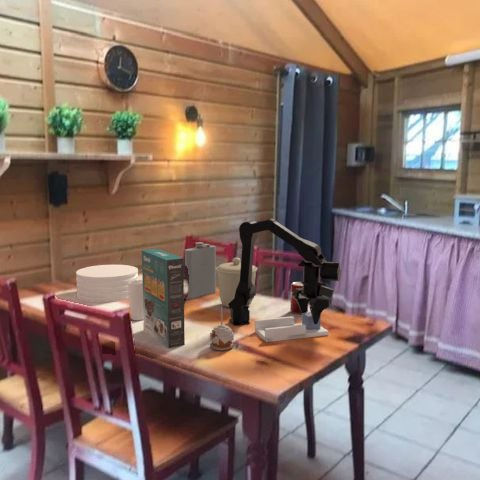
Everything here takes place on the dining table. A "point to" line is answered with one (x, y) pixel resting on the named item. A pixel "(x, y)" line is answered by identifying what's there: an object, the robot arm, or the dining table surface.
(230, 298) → the canister
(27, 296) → the dining table surface
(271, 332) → the trap channel
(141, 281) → the white cylinder
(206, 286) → the flask
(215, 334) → the decorative ornament
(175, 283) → the cake mix box
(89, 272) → the plate stack
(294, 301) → the soda can
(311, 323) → the blue-gray block
